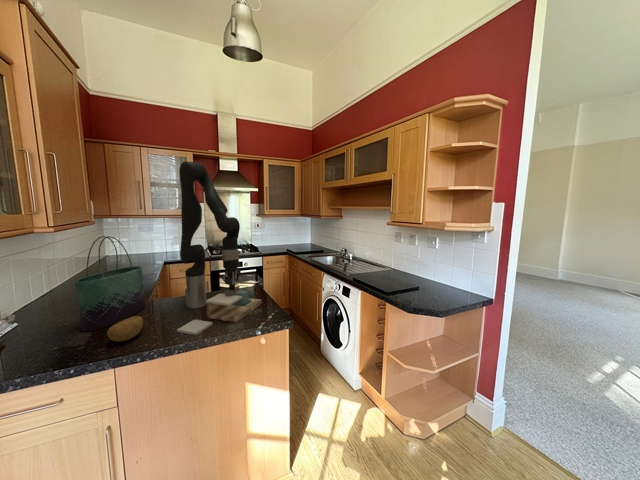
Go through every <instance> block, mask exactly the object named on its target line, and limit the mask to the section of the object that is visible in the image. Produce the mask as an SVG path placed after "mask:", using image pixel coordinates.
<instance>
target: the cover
mask: <svg viewBox="0 0 640 480" xmlns="http://www.w3.org/2000/svg"><path fill="white" fill-rule="evenodd" d="M224 292H225V294H222V293H218V294H216V295H214V296H212V297H211V298H208V299H206V303H213V304H220V305H228V306H230V305H232V304H233V303H235V302H237V301H238V300H240V299H242V296H237V295H234V290H229V289H226V290H225V291H224Z"/></svg>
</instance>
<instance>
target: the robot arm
mask: <svg viewBox="0 0 640 480" xmlns="http://www.w3.org/2000/svg"><path fill="white" fill-rule="evenodd" d="M179 182H180V192H181V215H180V216H181V240H180V249H179V250H180V251H179V256H180V259H181V262H182V263H183V264H193V265H192V266H191V267H189V268H186V270H185V282H186V283H185V285H186V288H185V290H184V293H185V303H186V304H185V306H186V307H187V308H188V309H201V308H203V307H205V306H207V303H206V300H207V289H206V288H207V287H206V273H205V271H206V252H205V247H204V246H203V245H202V244H200V243H199V244H192V240H193V237H194V236H195V233H196V232H197V231H198V229H199V228H200V225H201V224H202V219H203V210H202V209H203V208H202V205H201V204H200V201H199V199H198V197H197V195H196V192H195V183H196V182H197V183H198V184H199V185H200V186H201V188H203V191H204V198H205V199H204V200H205V204H206V205H207V207H208V208H209V210H210V212H211V213H212V215H213V216H214V220H215V224H216V226H217V227H218V229H219V230H220V231H221V232H222V233H226V235H225V236H224V237H223V238H222V239H221V240H222V241H221V242H222V267H223V269H224V275H223V276H221V280H223V282H224V283H225V285H228V288H229V289H228V290H234V291H235V286H236V283H237V282H238V281H239V279H240V275H241V272H242V271H241V270H239V267H240V255H239V254H240V253H239V248H238V247H239V245H238V239H239V233H240V230H241V229H240V228H241V226H240V221H239V220H238V219H237V217H233V216H231V217H228V216H227V213H228V208H227V206H226V205H225V203H224V202H223V200H222V198H221V197H220V195H219V193H218V192H217V190H216V188H215V185H214V184H213V181H212V179H211V177H210V174H209V172H208V171H207V168H206V167H205V165H203V163H200V162H195V161H187V160H185V161H182V163H181V164H180V165H179Z"/></svg>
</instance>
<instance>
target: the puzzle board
mask: <svg viewBox="0 0 640 480" xmlns="http://www.w3.org/2000/svg"><path fill="white" fill-rule="evenodd" d="M240 290H241V288H240V285H235V291H234V295H235V293H236V292H238V291H240ZM221 294H225V291H224V292H222V293H221ZM262 303H263V299H258V298H252V297H251V298H250V297H249V304H247V305H246V306H237V305H235V303H233V304H232V305H230V306H228V305H220V304H213V303H207V304H206V311H207V312H206V315H207V318H208V319H213V320H218V321H219V320H220V321H226V322H232V323H237V322H238V321H240V320H241V319H243V318H244V317H245V316H247V315H248V314H249V313H251V312H252V311H254V310H255V309H256V308H258V307H259V306H260V305H261V304H262Z"/></svg>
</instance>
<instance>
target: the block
mask: <svg viewBox="0 0 640 480" xmlns="http://www.w3.org/2000/svg"><path fill="white" fill-rule="evenodd" d="M235 295H237V296H242V299H240V300H238V301H237V302H235V305H237V306H246V305H247V304H249V298H250V297H249V290H244V289H243V290H242V289H240V291H238V292H236V293H235Z"/></svg>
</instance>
